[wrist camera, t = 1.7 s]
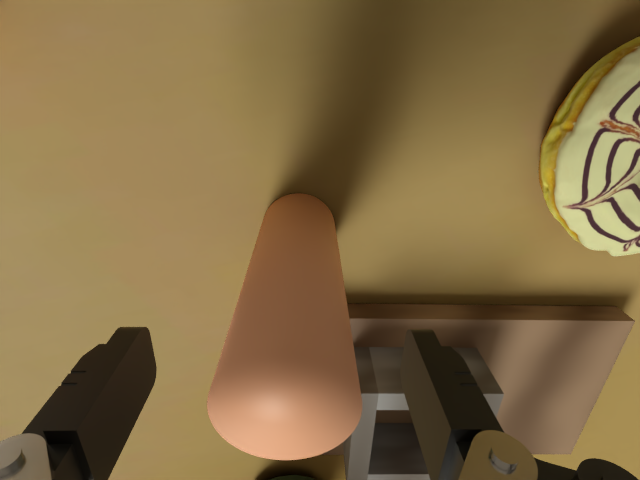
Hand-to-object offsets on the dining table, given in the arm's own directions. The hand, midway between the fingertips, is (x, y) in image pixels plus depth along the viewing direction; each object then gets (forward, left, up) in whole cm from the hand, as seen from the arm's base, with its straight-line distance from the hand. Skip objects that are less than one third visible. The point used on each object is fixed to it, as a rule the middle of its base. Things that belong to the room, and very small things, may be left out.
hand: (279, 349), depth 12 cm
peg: (0, 0, -10) cm, 10 cm away
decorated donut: (-17, -5, -10) cm, 21 cm away
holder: (-10, +11, -10) cm, 18 cm away
